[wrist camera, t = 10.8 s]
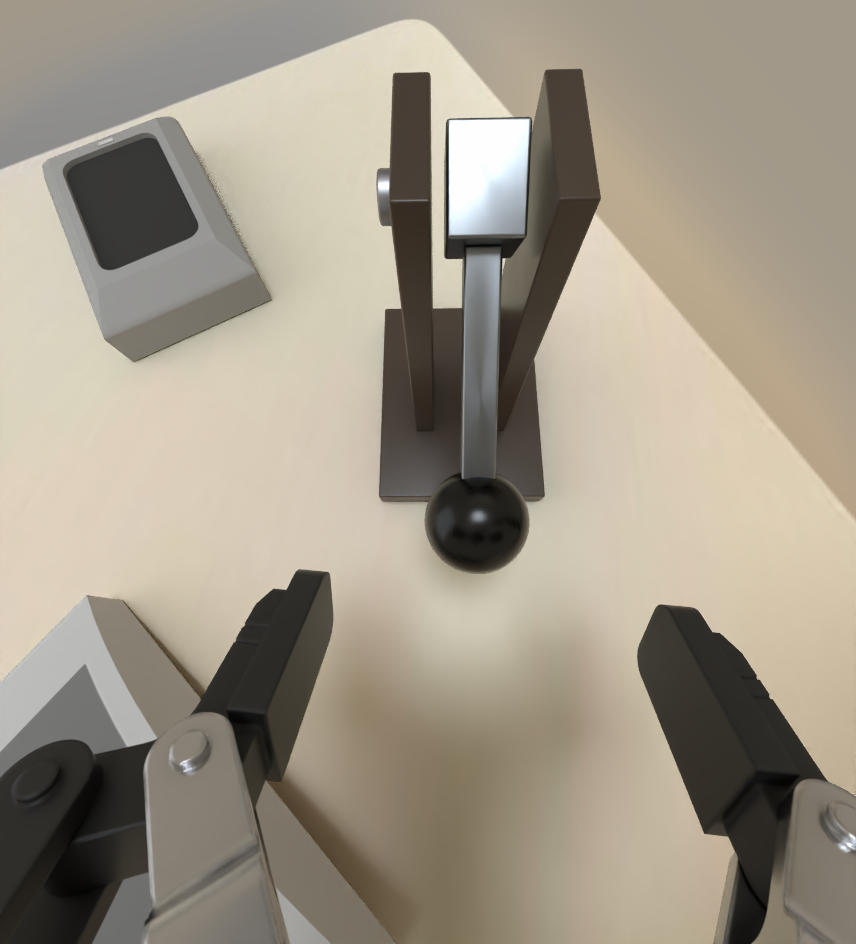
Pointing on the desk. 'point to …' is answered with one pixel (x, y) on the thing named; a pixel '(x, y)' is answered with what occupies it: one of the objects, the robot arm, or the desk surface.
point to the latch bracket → (440, 330)
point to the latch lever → (481, 337)
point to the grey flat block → (151, 238)
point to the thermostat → (143, 720)
